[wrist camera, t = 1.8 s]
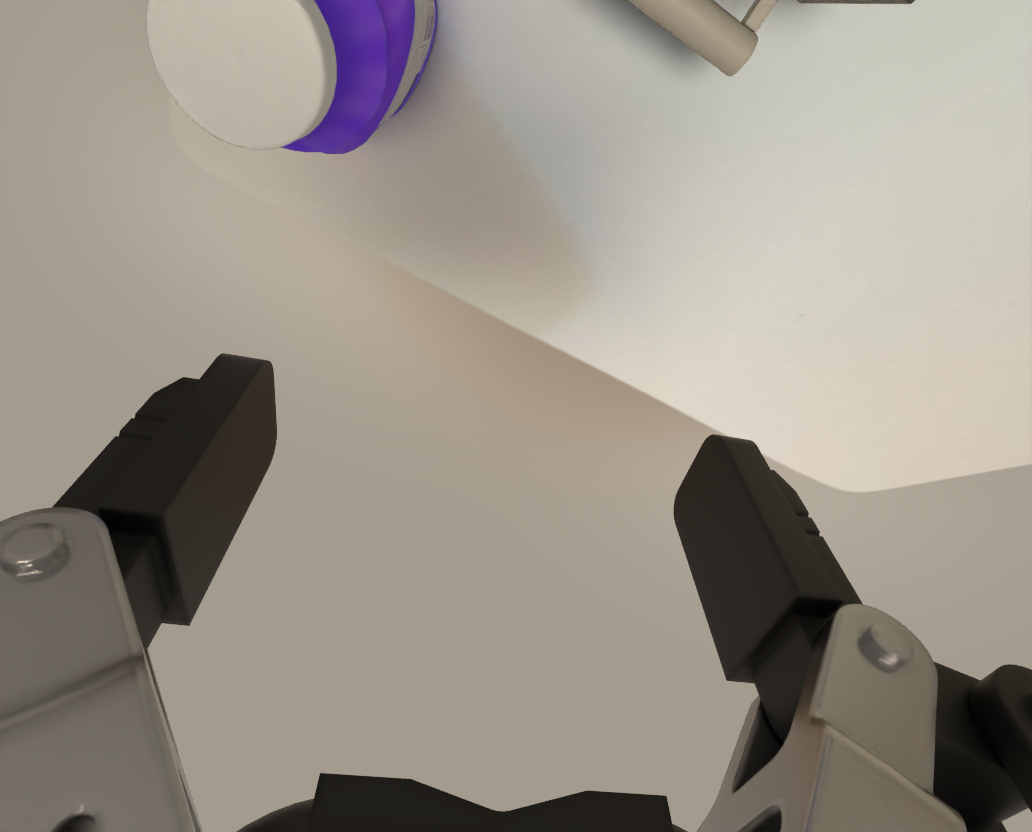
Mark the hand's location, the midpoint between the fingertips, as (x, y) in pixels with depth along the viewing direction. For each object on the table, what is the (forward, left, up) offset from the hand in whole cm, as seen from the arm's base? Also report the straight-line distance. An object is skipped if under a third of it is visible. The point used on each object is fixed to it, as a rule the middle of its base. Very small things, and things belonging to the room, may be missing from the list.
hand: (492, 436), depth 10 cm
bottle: (-7, -4, -25) cm, 26 cm away
